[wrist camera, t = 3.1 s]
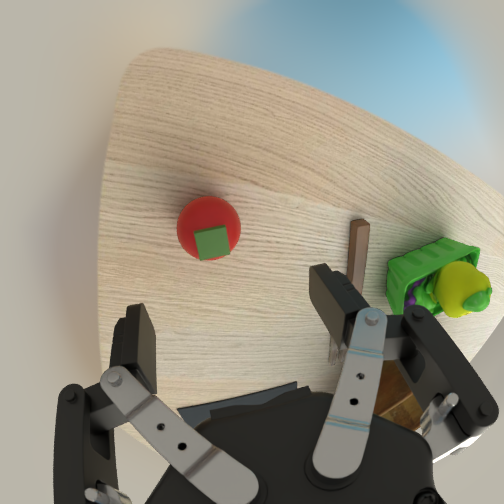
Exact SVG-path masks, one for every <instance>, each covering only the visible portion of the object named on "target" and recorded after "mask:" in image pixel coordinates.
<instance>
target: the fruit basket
mask: <svg viewBox="0 0 504 504" xmlns="http://www.w3.org/2000/svg"><path fill="white" fill-rule="evenodd" d="M479 254H480V248H478V247H475V246H468V245H465V244H463V243H460V242H457V241H454V240H451V239H448V238H442V239H440V240H437V241H436V242H435V243H430V244H428V245H426V246H423V247H422V248H420V249H419V250H414V251H411V252H409V253H406V254H405V255H404V256H403V257H402V256H401V257H397V258H394V259H392V260H389V262H388V267H389V270H388V273H387V291H386V297H387V299H388V302H389V304H390V307H391V309H392V311H393V314H394V315H400V314H403V313H404V310H405V308H406V307H408V306H410V305H421V306H424V307H426V308H427V309H428V310H429V311H430V312H431V313H432V315H433V316H435V315H437V314H439V313H441V312H443V311H444V312H445V314H446V315H447V316H449V317H453V318H458V317H461V316H463V315H467V314H469V313H471V312H480V311H483V310H484V309H486V307H487V306H488V305H489V302H490V296H491V294H492V288H491V284H490V281H489V278H488V277H487V276H486V275H485V274H484V273H482V272H480V271H478V270H477V269H476V267H477V263H478V259H479Z"/></svg>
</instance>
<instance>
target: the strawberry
mask: <svg viewBox="0 0 504 504" xmlns="http://www.w3.org/2000/svg"><path fill="white" fill-rule="evenodd" d="M240 232H241V224H240V219H239V217H238V214H237V212H236V211H235V209H234V208H233V207H232V206H231V205H230V204H229V203H228V202H226V201H225V200H223V199H221V198H218V197H213V196H205V197H200V198H197V199H195V200H193V201H191V202H190V203H189V204H187V205H186V206H185V207H184V209H183V210H182V212H181V213H180V215H179V218H178V221H177V235H178V239H179V242H180V244H181V245H182V247H183V248H184V249H185V251H186V252H187V253H189V254H190V255H191V256H193V257H195V258H198V259H200V261H201V260H216V259H220V258H222V257H224V256H226V255H229V254H230V252H231V251H232V250H233V248H234V247H235V246H236V244H237V242H238V240H239V237H240Z"/></svg>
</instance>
